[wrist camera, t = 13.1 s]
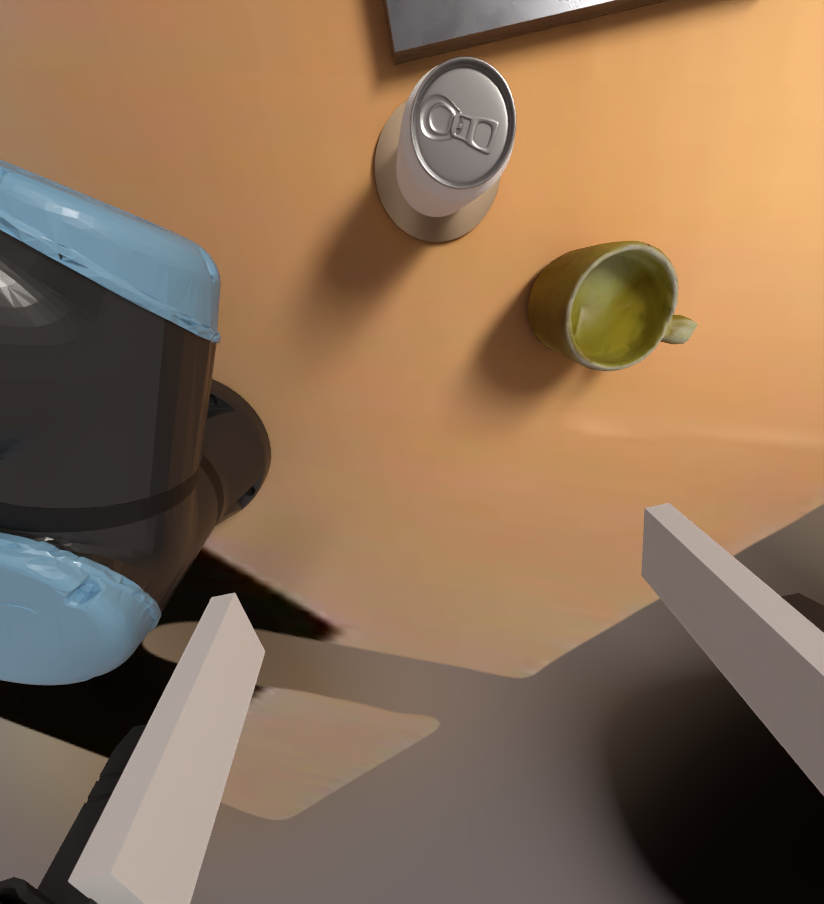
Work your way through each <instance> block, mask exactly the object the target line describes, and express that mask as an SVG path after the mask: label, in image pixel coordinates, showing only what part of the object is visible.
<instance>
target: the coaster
mask: <svg viewBox="0 0 824 904" xmlns="http://www.w3.org/2000/svg"><path fill="white" fill-rule="evenodd" d="M407 101H408V100H406V101H405V102H404V103H402V104H401V105H400V106H399V107H398V108H397V109H396V110H395V111H394V113H393V114H392V115H391V116H390V118H389V119H388V121H387V123H386V124H385V126H384V128H383V130H382V133H381V135H380V138H379V141H378V144H377V149H376V154H375V180H376V186H377V190H378V194H379V197H380V199H381V202H382V204H383V206H384V208H385V210H386V212H387V213H388V215H389V216H390V218H391V219H392V220H393V221H394V223H395V224H396V225H397V226H398V227H399V228H401V229H402V230H403V231H404V232H406V233H407V234H409V235H411V236H413V237H415V238H417V239H420V240H423V241H428V242H444V241H449V240H453V239H456V238H458V237H460V236H463V235H464V234H466V233H468V232H469V231H471V230H472V229H473V228H474V227H475V226H477V225H478V223H479V222H480V221H481V220H482V219H483V218H484V216H485V215H486V214H487V212H488V211H489V209H490V207H491V205H492V204H493V201H494V199H495V196H496V194H497V190H498V187H499V182H500V177H501V176H500V177H499V178H498V180H497V181H496V182H495V183H494V184H493V185H492V186H491V187H490V188H489V189H488V190H487V191H486V192H485V193H483V194H482V195H480V196H479V197H478V198H476V199H475V200H473V201H472V202H470V203H469V204H467V205H466V206H464V207H463V208H461V209H459V210H458V211H456V212H454V213H452V214H450V215H447V216H443V217H430V216H426V215H423V214H421V213H419V212H418V211H416V210H415V209H413V208H412V207H411V206H410V205H409V204H408V202H407V201H406V200H405V198H404V197H403V195H402V193H401V191H400V188H399V185H398V181H397V175H396V162H397V152H398V143H399V135H400V128H401V122H402V117H403V113H404V109H405V106H406V103H407Z"/></svg>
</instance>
